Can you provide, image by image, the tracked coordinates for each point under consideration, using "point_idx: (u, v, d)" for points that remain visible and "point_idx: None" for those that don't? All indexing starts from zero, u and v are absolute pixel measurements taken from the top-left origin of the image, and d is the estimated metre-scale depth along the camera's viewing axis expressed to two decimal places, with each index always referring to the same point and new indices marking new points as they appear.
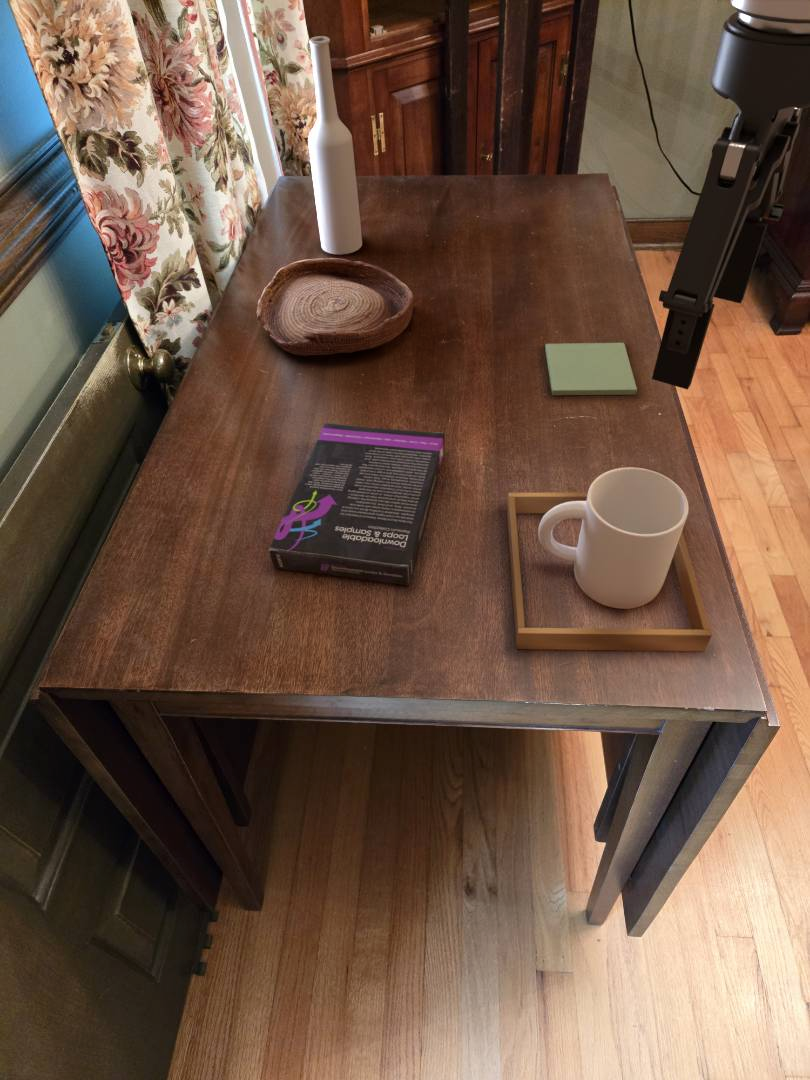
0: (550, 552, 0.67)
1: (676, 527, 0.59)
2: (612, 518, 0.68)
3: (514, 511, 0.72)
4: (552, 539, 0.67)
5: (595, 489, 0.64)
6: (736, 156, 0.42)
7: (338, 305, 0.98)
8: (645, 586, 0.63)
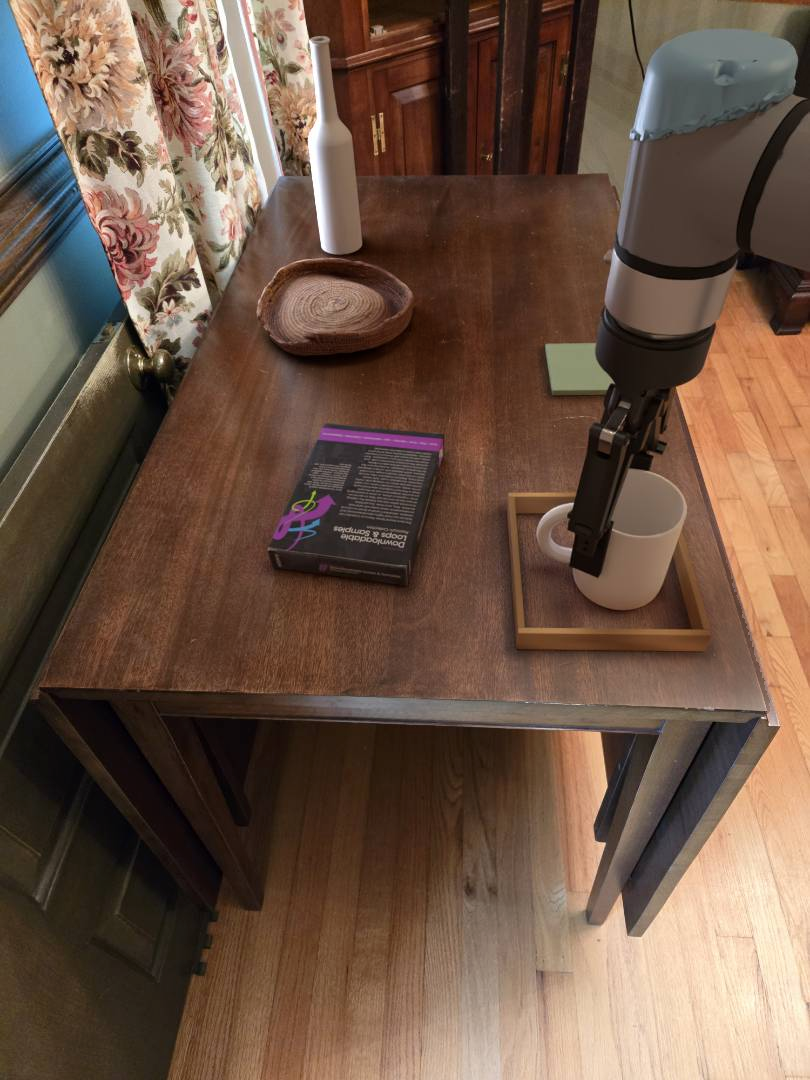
0: (549, 554, 0.67)
1: (674, 528, 0.59)
2: None
3: (514, 511, 0.72)
4: (550, 541, 0.66)
5: None
6: (607, 443, 0.50)
7: (338, 305, 0.98)
8: (644, 587, 0.63)
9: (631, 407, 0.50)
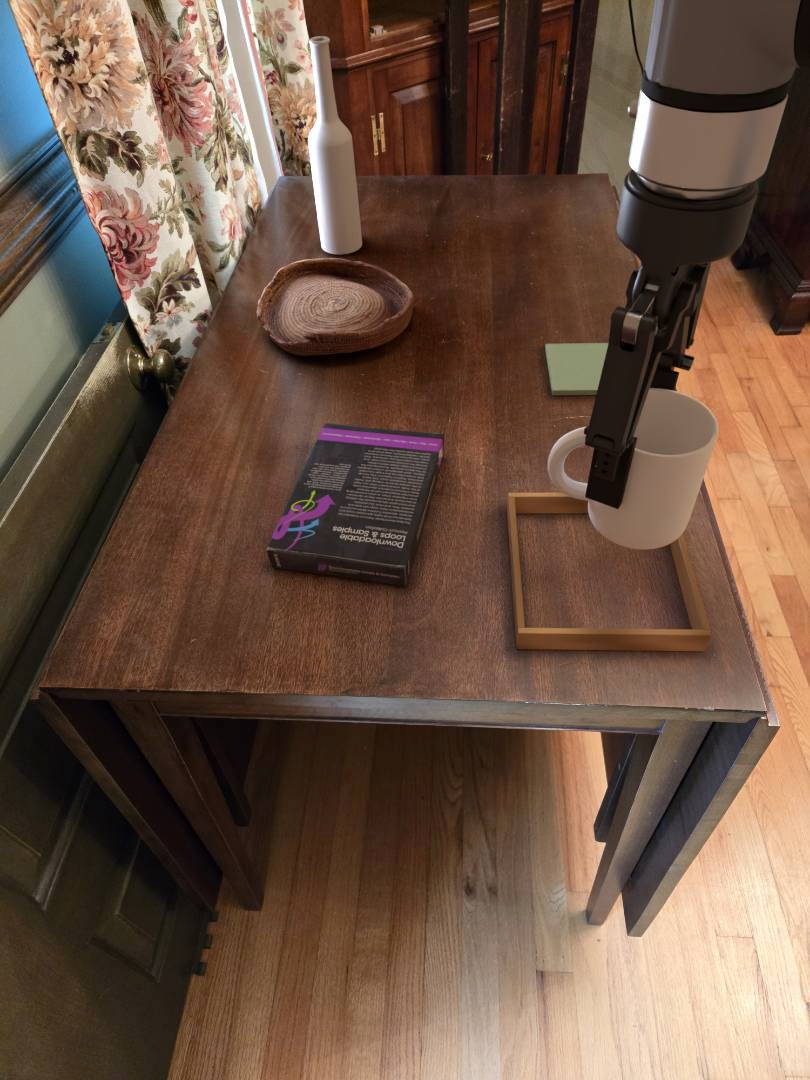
0: (561, 489, 0.60)
1: (706, 447, 0.52)
2: None
3: (514, 511, 0.72)
4: (563, 473, 0.59)
5: None
6: (633, 329, 0.43)
7: (338, 305, 0.98)
8: (670, 521, 0.56)
9: (660, 288, 0.43)
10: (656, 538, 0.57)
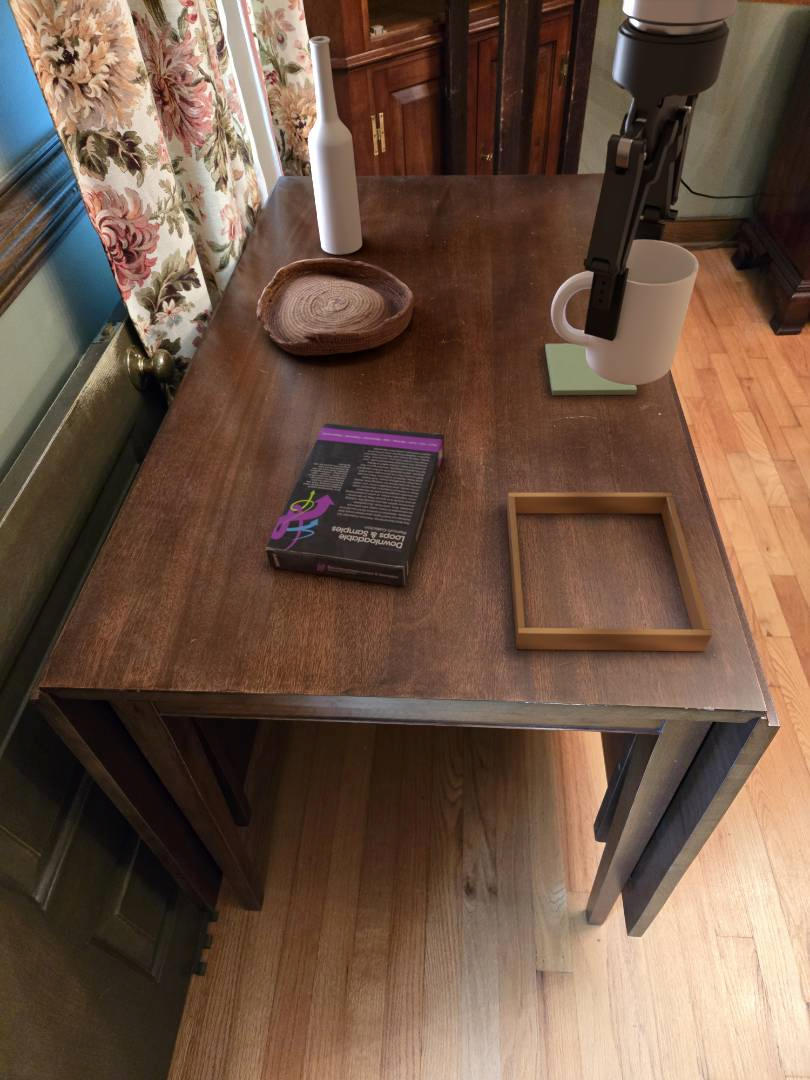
0: (563, 334, 0.69)
1: (687, 278, 0.61)
2: None
3: (514, 511, 0.72)
4: (565, 319, 0.68)
5: None
6: (625, 151, 0.52)
7: (338, 305, 0.98)
8: (657, 353, 0.65)
9: (648, 119, 0.52)
10: (645, 371, 0.66)
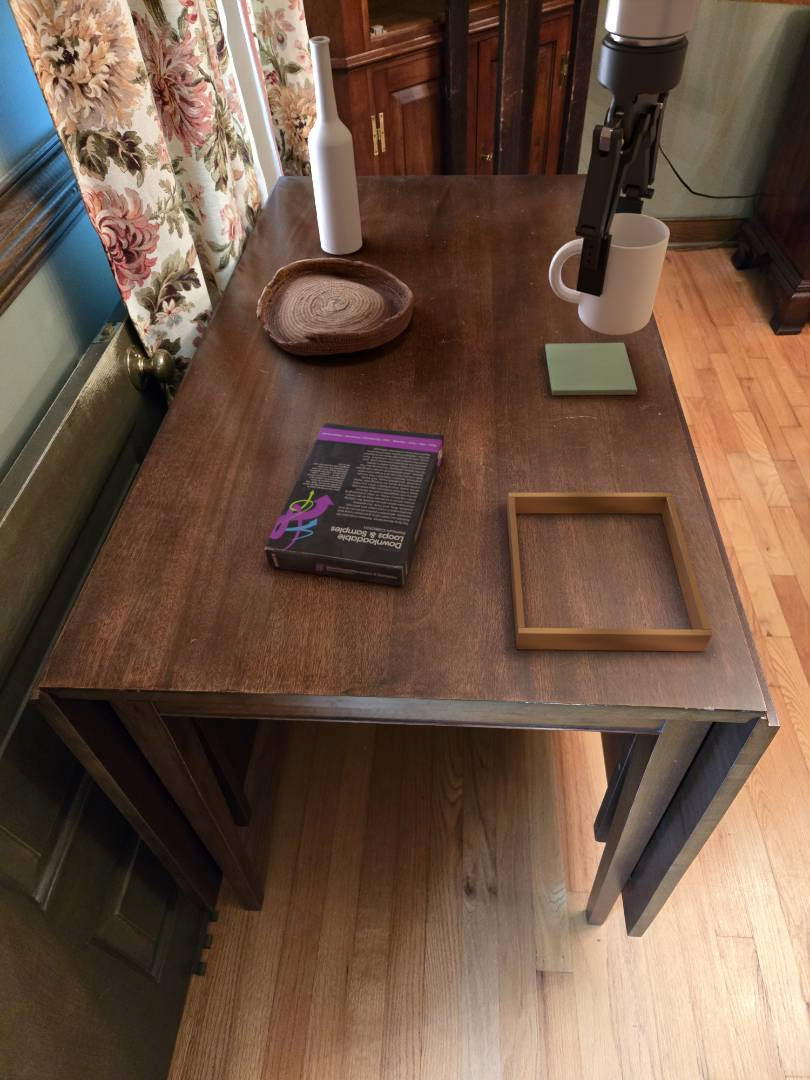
0: (559, 293, 0.83)
1: (660, 243, 0.74)
2: None
3: (514, 511, 0.72)
4: (560, 280, 0.82)
5: None
6: (607, 138, 0.65)
7: (338, 305, 0.98)
8: (636, 307, 0.79)
9: (625, 112, 0.66)
10: (627, 322, 0.80)
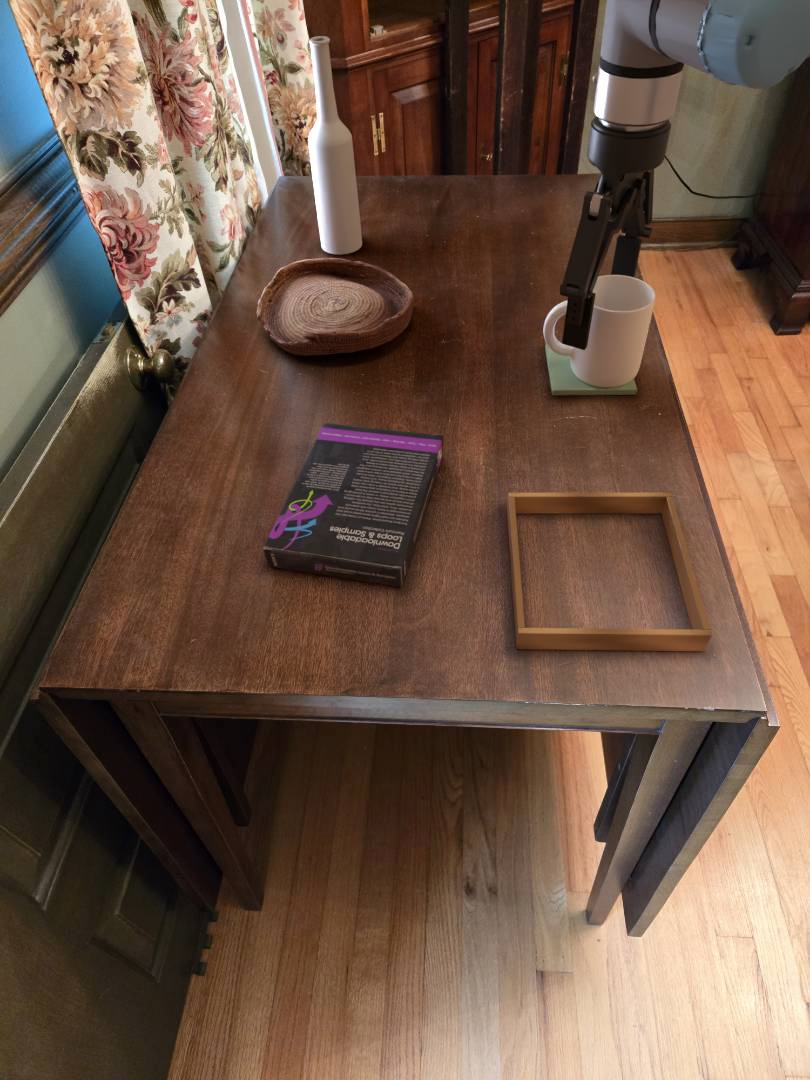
0: (552, 347, 0.88)
1: (646, 307, 0.80)
2: None
3: (514, 511, 0.72)
4: (554, 336, 0.87)
5: None
6: (597, 202, 0.70)
7: (338, 305, 0.98)
8: (624, 363, 0.84)
9: (612, 189, 0.71)
10: (616, 377, 0.85)
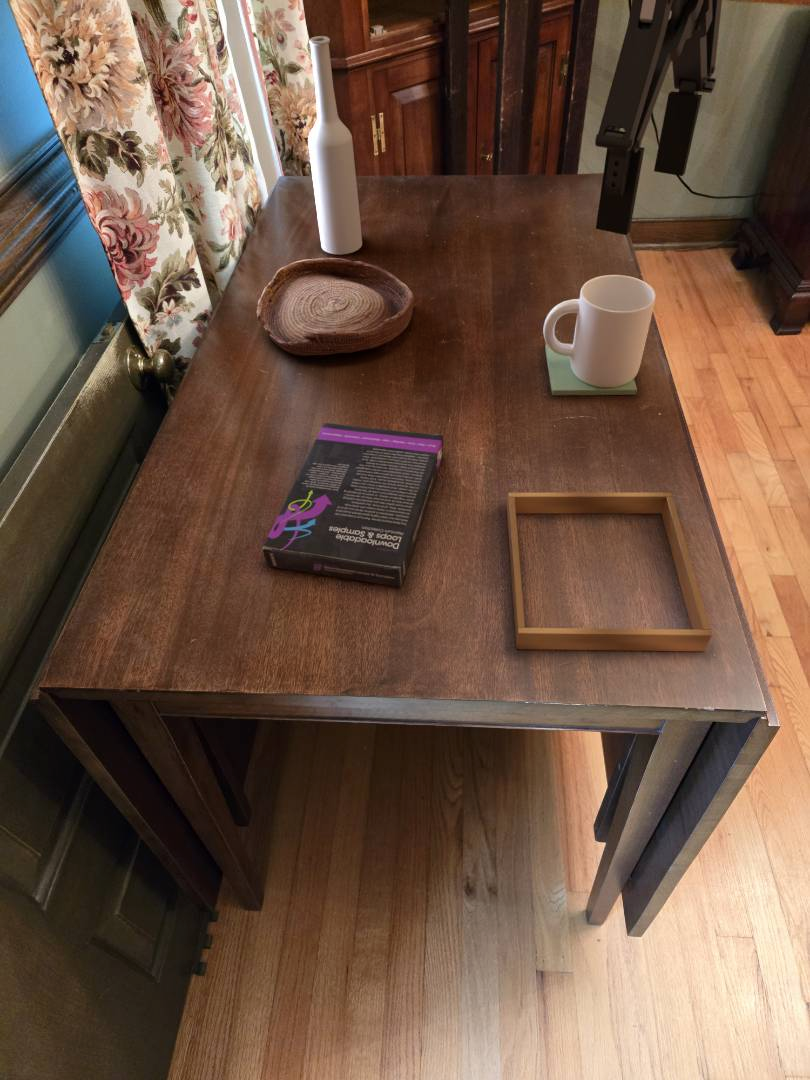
0: (552, 347, 0.88)
1: (646, 307, 0.80)
2: None
3: (514, 511, 0.72)
4: (554, 336, 0.87)
5: (586, 291, 0.84)
6: None
7: (338, 305, 0.98)
8: (624, 363, 0.84)
9: None
10: (616, 377, 0.85)
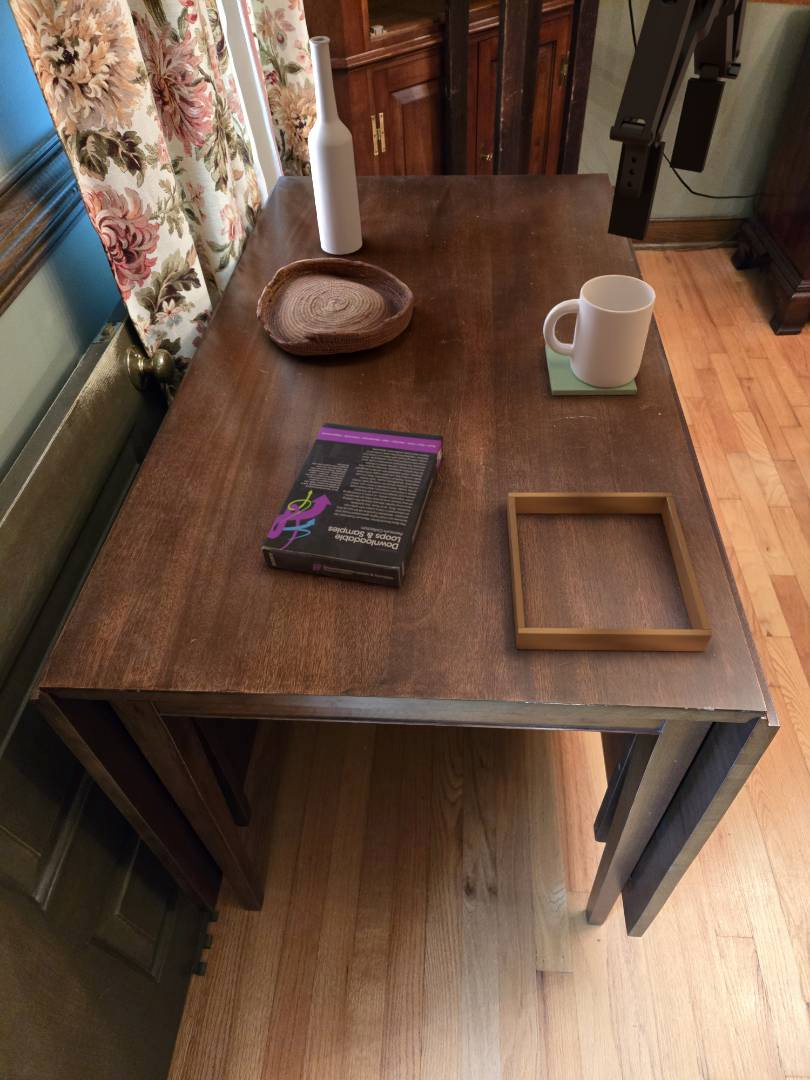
0: (552, 347, 0.88)
1: (646, 307, 0.80)
2: None
3: (514, 511, 0.72)
4: (554, 336, 0.87)
5: (586, 291, 0.84)
6: None
7: (338, 305, 0.98)
8: (624, 363, 0.84)
9: None
10: (616, 377, 0.85)
